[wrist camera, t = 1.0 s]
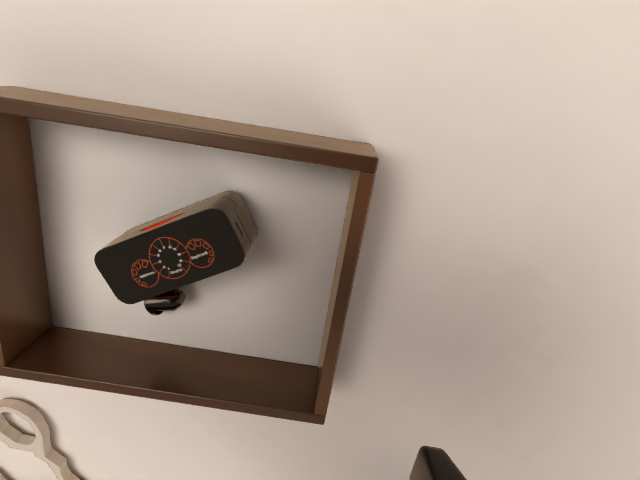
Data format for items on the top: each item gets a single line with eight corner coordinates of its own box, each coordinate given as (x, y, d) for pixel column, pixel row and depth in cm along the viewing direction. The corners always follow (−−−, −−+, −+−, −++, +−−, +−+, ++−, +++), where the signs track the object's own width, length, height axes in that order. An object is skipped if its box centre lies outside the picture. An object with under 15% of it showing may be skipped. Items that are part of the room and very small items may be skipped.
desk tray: (326, 376, 23) (323, 425, 20) (43, 333, 23) (-6, 375, 19) (371, 144, 18) (378, 157, 15) (12, 86, 18) (-61, 86, 15)
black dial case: (112, 234, 20) (72, 260, 17) (239, 183, 19) (220, 203, 16) (159, 309, 22) (129, 345, 19) (279, 267, 20) (268, 299, 17)
